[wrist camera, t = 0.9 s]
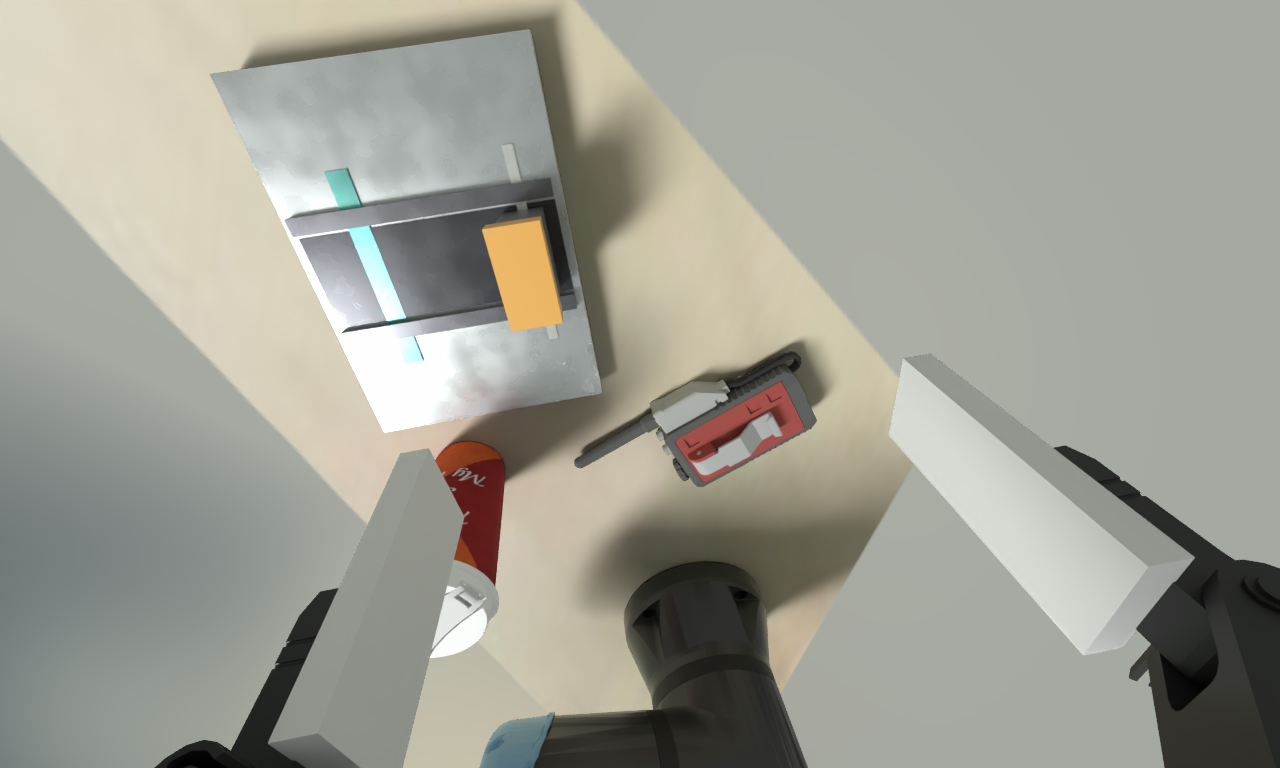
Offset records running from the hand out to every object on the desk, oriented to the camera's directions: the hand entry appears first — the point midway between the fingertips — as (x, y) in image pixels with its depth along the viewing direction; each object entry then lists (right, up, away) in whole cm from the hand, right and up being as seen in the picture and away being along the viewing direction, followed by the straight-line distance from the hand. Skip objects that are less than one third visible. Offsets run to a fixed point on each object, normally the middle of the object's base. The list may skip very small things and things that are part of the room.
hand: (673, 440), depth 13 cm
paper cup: (-15, -5, +26) cm, 31 cm away
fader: (-8, +10, +16) cm, 20 cm away
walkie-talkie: (+4, -2, +27) cm, 28 cm away
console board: (-13, +10, +18) cm, 24 cm away
